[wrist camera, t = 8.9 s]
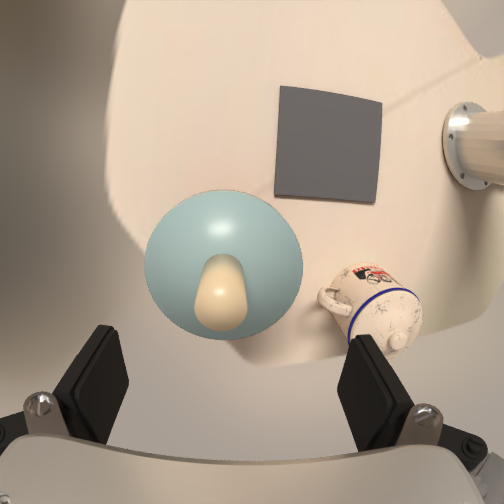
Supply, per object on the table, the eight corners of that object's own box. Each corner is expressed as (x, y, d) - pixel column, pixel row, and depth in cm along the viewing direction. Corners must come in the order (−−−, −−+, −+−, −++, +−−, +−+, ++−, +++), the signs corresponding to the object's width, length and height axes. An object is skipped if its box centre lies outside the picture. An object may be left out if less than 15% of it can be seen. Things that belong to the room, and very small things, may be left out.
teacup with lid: (399, 270, 36) (450, 312, 25) (369, 328, 39) (407, 381, 27) (322, 242, 34) (362, 283, 23) (293, 309, 37) (316, 369, 26)
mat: (380, 103, 29) (382, 102, 29) (373, 202, 33) (375, 202, 32) (280, 86, 28) (280, 85, 28) (274, 194, 32) (274, 194, 32)
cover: (304, 192, 20) (334, 207, 14) (292, 330, 24) (309, 381, 18) (144, 190, 19) (110, 205, 13) (156, 329, 23) (137, 379, 17)
